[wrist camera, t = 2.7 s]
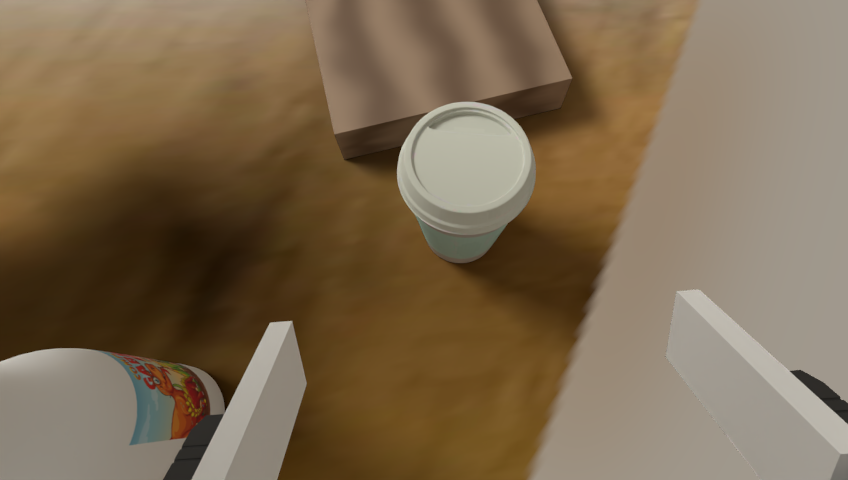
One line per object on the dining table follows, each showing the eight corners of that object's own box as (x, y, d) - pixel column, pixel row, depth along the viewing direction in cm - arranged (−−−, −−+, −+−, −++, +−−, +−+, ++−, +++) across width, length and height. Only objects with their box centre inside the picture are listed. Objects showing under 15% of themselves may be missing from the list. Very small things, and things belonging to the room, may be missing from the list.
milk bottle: (220, 479, 32) (-86, 575, 14) (112, 478, 33) (-335, 572, 14) (235, 365, 35) (-2, 313, 16) (135, 365, 35) (-212, 315, 16)
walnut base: (344, 159, 41) (334, 134, 37) (307, -6, 48) (296, -41, 44) (560, 108, 42) (572, 78, 38) (494, -47, 49) (499, -85, 45)
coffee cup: (532, 221, 38) (570, 143, 27) (469, 301, 36) (482, 252, 25) (450, 165, 40) (454, 70, 29) (386, 237, 38) (363, 165, 27)
